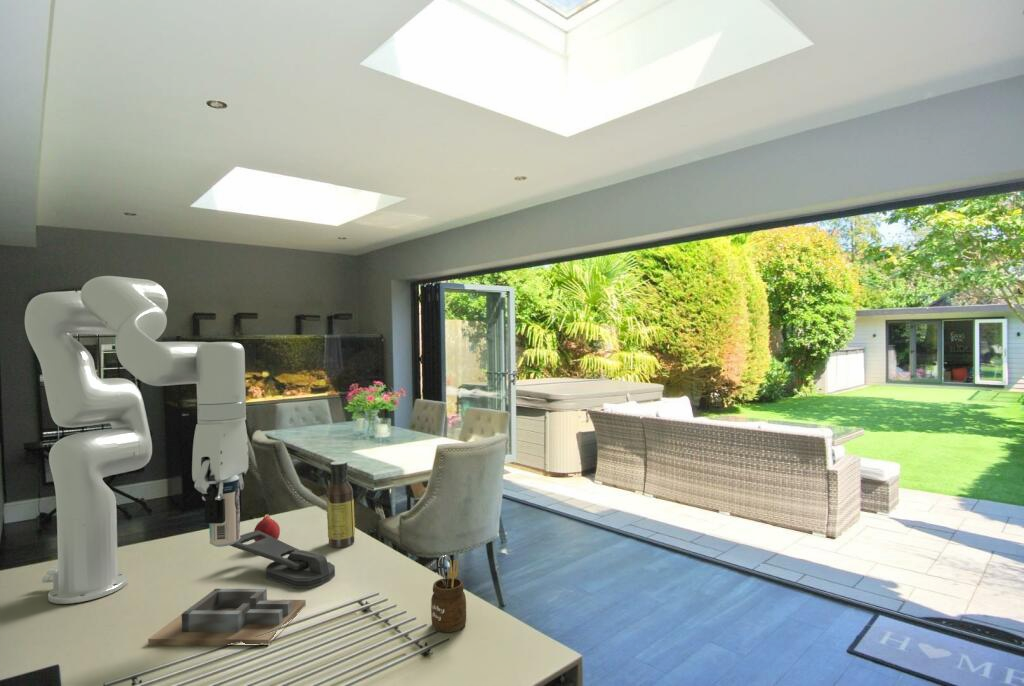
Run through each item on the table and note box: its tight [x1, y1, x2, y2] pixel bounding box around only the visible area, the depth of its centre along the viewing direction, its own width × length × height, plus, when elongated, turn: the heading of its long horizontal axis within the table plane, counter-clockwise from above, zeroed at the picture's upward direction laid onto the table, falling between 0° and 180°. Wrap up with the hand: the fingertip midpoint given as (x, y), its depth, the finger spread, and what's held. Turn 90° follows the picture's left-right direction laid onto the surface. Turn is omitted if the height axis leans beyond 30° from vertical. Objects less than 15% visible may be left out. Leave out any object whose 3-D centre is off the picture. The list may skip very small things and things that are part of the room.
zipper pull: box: [229, 530, 336, 590], centre depth 119 cm, size 9×7×25 cm
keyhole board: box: [147, 588, 307, 647], centre depth 97 cm, size 20×14×4 cm
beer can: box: [208, 475, 241, 548], centre depth 97 cm, size 5×5×12 cm
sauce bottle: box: [326, 460, 356, 548], centre depth 136 cm, size 6×6×20 cm
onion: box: [253, 514, 281, 542], centre depth 134 cm, size 6×6×8 cm
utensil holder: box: [430, 555, 467, 633], centre depth 95 cm, size 6×6×12 cm
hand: (224, 516), depth 97 cm, fingers closed on beer can, 4 cm apart
